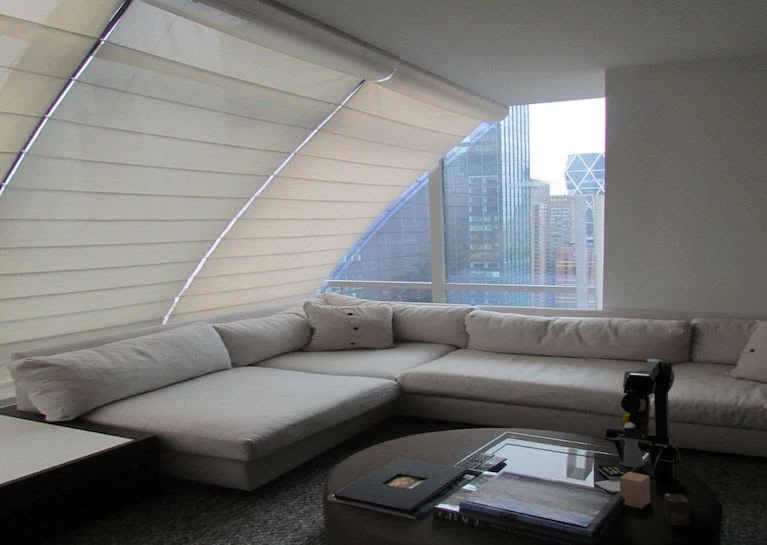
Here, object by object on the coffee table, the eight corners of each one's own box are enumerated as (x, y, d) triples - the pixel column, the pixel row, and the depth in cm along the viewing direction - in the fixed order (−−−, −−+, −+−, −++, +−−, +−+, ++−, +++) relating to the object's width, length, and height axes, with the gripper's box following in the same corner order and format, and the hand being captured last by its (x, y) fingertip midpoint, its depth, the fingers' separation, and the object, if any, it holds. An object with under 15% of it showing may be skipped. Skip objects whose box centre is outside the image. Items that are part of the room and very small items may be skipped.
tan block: (629, 497, 217) (628, 471, 216) (650, 501, 212) (649, 476, 211) (620, 503, 212) (619, 477, 211) (641, 508, 207) (640, 482, 207)
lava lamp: (629, 457, 254) (626, 367, 252) (650, 463, 246) (647, 371, 245) (614, 462, 249) (611, 371, 248) (634, 469, 242) (631, 374, 240)
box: (690, 526, 193) (689, 501, 193) (668, 525, 195) (667, 501, 194) (685, 517, 199) (684, 493, 199) (664, 516, 201) (663, 493, 200)
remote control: (613, 468, 243) (613, 463, 243) (627, 479, 230) (626, 473, 230) (596, 469, 243) (596, 464, 243) (609, 480, 230) (609, 474, 230)
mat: (619, 479, 232) (619, 478, 232) (637, 489, 222) (637, 488, 222) (594, 483, 229) (594, 482, 229) (611, 494, 220) (611, 492, 220)
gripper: (601, 410, 203) (598, 461, 201) (665, 417, 192) (663, 471, 190) (612, 410, 212) (609, 460, 210) (673, 417, 201) (672, 469, 199)
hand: (637, 465), depth 202 cm, fingers open, 9 cm apart
